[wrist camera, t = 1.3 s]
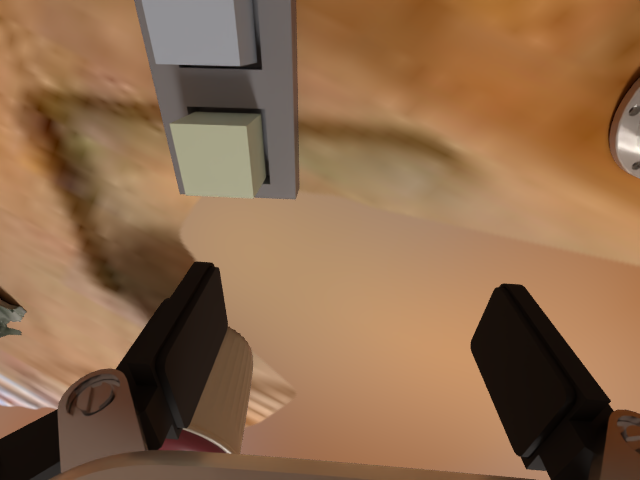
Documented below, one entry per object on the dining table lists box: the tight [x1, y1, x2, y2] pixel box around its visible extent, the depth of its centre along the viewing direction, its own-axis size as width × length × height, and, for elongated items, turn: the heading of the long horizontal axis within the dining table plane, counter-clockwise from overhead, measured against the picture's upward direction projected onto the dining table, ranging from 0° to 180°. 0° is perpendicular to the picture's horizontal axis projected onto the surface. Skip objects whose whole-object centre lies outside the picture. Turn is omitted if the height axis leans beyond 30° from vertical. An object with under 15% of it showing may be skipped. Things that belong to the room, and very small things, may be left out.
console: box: [134, 0, 299, 199], centre depth 25 cm, size 12×30×4 cm, turn 179°
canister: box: [158, 327, 253, 454], centre depth 40 cm, size 18×18×21 cm
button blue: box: [142, 0, 257, 66], centre depth 22 cm, size 6×6×5 cm
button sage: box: [169, 112, 266, 198], centre depth 28 cm, size 6×6×5 cm
